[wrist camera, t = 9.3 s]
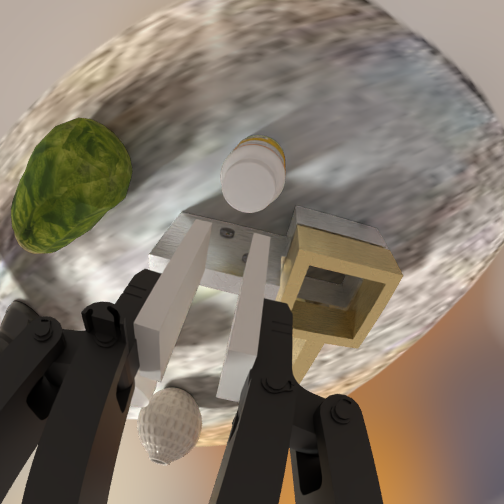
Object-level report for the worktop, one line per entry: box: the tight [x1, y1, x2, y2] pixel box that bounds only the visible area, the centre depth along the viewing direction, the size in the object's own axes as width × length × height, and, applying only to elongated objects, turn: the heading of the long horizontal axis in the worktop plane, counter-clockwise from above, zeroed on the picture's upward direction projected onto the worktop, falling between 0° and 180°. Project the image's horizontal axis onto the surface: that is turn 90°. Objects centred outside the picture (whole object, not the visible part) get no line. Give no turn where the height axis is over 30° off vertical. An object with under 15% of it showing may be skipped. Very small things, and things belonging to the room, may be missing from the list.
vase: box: [137, 387, 202, 465], centre depth 48 cm, size 13×13×17 cm
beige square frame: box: [275, 225, 403, 384], centre depth 33 cm, size 10×22×10 cm, turn 168°
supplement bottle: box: [220, 135, 286, 213], centre depth 25 cm, size 5×5×10 cm
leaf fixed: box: [149, 206, 388, 311], centre depth 30 cm, size 22×10×10 cm, turn 78°
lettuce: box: [11, 118, 133, 254], centre depth 28 cm, size 12×21×11 cm, turn 124°
